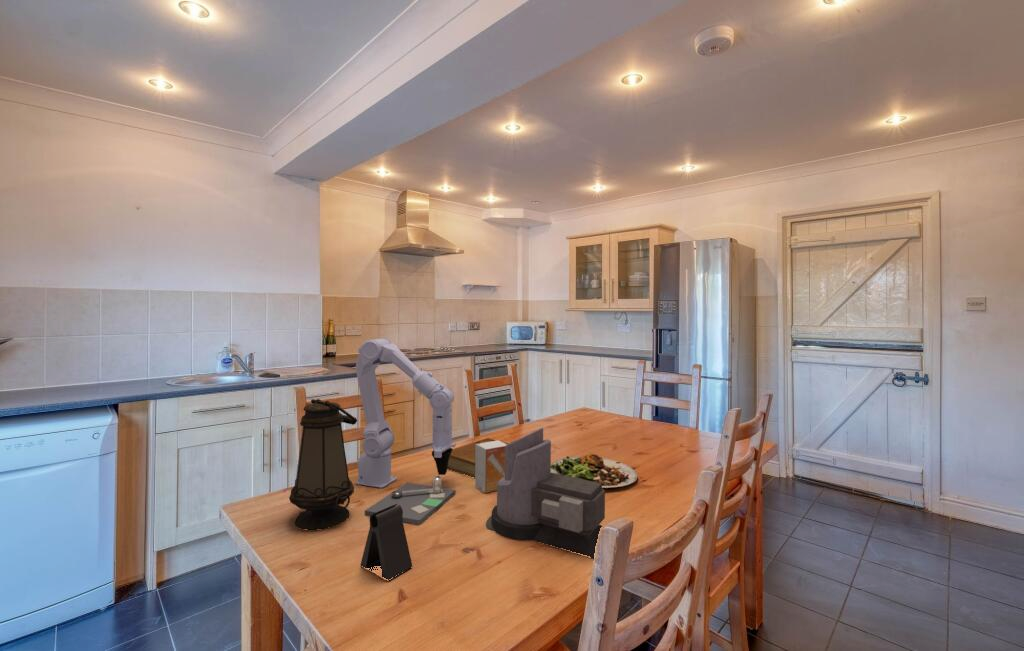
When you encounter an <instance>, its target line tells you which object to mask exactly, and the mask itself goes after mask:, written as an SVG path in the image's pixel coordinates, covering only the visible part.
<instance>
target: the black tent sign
mask: <svg viewBox="0 0 1024 651" xmlns="http://www.w3.org/2000/svg"><path fill="white" fill-rule="evenodd" d="M396 505H397V504H395V505H392V506H390V507H388V508H385V509H383V510H381V511H378V512H376V513H373V514H371V515H370V516H369V529H368V534H367V538H366V541H365V545H364V549H363V554H362V558H361V562H360V567H361V566H363V567H365V568H370V569H371V567H372V569H373V567H374V566H381V567H380V568H381V569H382V577H384V578H386V579H388V580H389V579H391V578H392V577H395V576H396V575H398V574H400V573H402V572H404V571H406V570H407V569H409V568H411V567H412V568H413V563H412V558H411V554H410V549H409V544H408V539H407V535H406V530H405V525H404V522H403V510H402V507H401V506H400V505H398V506H396ZM395 506H396V507H395ZM374 568H375V567H374ZM376 568H377V567H376ZM412 568H411V569H412ZM370 569H369V570H370ZM372 569H371V571H372ZM373 570H374V569H373ZM375 570H376V569H375ZM377 570H378V569H377ZM409 570H410V569H409ZM407 571H408V570H407ZM407 571H406V572H407ZM404 573H405V572H404ZM402 574H403V573H402ZM395 578H396V577H395Z"/></svg>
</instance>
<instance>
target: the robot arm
mask: <svg viewBox="0 0 1024 651" xmlns="http://www.w3.org/2000/svg"><path fill="white" fill-rule="evenodd" d="M392 342H393V341H391V340H390V339H389V338H387V337H380V338H376V339H373V338H372V339H366V340H365V341H363V343H362V344H361V345H360V346H359V347H358V350H357V351H358V357H357V360H356V364H355V372H356V378H357V383H358V389H359V393H360V399H361V404H362V408H363V413H364V419H365V424H366V425H365V427H364V430H363V433H362V434H363V441H362V450H363V452H362V453H361V454H360V456H359V458H358V461H357V481H356V482H355V484H356V485H362V486H367V487H373V488H379V489H382V488H385V487H386V486H388V485H390V484H392V483H393V482H394V481H397V480H398V477H396V476H392V450H391V449H392V446H393V445H394V443H395V437H396V436H395V435H394V433H393V431H392V429H391V427H390V424H389V422H388V421H387V420H385V416H384V411H383V405H382V401H381V396H380V390H379V385H378V380H377V375H376V374H377V373H376V369H377V368H378V367H379V365H380V364H381V362H383V363H384V362H385V363H392V364H394V366H396V367H397V368H398V369H399V370H401V371H402V372H403V373H404V374H405V375H407V376H408V377H409V378H410V379H411V380H412V386H413V387H414V388H415V389H417V391H419V392H420V393H421V394H422V395H423V396H424V397H425V398H427V399H428V400H429V401H428V402H429V405H430V407H431V408H432V443H431V448H432V449H433V450H432V451H431V456H432V458H433V459H434V463H435V466H436V469H437V474H438V476H440V475H441V476H446V474H447V471H448V470H447V467H448V461H449V457H450V454H451V452H452V450H453V449H454V448H455V447H456V445H457V443H456V442H453V411H452V410H453V406H452V404H453V402H454V400H455V395H454V392H453V390H452V389H451V388H450V387H448V386H445V385H444V384H443V383H440V382H439V381H438V380H437V379H436V378H435V377H433V376H434V375H433V373H432V372H431V371H427V370H420V369H419V368H418V367H417V366H416V365H415V364H414V363H413V362H412V361H411V360H410V359H409V358H408V357H407V356H406V354H404V353H403V352H402V351H401V350H400V348H399V347H398V346H397V344H395V343H392Z"/></svg>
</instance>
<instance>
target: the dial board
mask: <svg viewBox="0 0 1024 651" xmlns="http://www.w3.org/2000/svg"><path fill="white" fill-rule="evenodd" d="M431 488H433V485H425V484H420V483H413V482H406V483H404V484H402V486H400V487H398V488H397V489H394V491H396V490H400V491H411V490H421V489H431ZM442 488H443V492H440V493H423V494H414V495H404V496H401V497H399V498H393V497H392V492H390V493H389V494H387V495H386V496H384V497H383V498H381V499H379V501H377V502H376V503H374V504H372V505H371V506H370V507H368V508H366V509H364V516H367V517H368V516H369V517H370V515H371V514H373V513H376V512H378V511H381V510H383V509H385V508H388V507H390V506H392V505H395V504H397V505H396V506H398V505H400V506H401V507H402V510H403V523H405V524H410V525H411V524H412V525H415V526H420V525H421V524H422V522H423V523H424V522H425V521H426V520H427V519H428V518H430V517H431V516H432V515H433V514H434V513H435V512H436V511H438V510H439V509H440V508H441V507H442V506H443V505H445V504H446V503H447V502H448V501H449V500H450V499H451V498H452V497H454V496H455V495H456V489H453V488H446V487H442ZM396 506H395V507H396Z"/></svg>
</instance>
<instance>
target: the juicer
mask: <svg viewBox="0 0 1024 651" xmlns="http://www.w3.org/2000/svg"><path fill="white" fill-rule="evenodd" d="M508 443H509V442H508ZM551 451H552V441H551V440H550V439H548V438H547V439H544V427H540V428H539V429H536V430H534V431H532V432H531V433H528V434H526V435H524V436H522V437H520V438H518V439H516V440H513V441H512V442H510V443H509V444H507V445H506V446H505V477H503V478H501V479H500V480H499V481H498V483H497V490H496V505H495V506H493V508H492V509H491V514H490V515H489V517H488V518H487V520H486V522H485V528H486V529H487V530H489V531H491V532H495V533H496V534H498V535H499V536H501V537H504V538H506V539H509V540H514V541H526V540H528V541H533V542H537V543H539V542H540V544H542V543H544V544H543V545H546V544H548V545H547V546H549V545H552V546H555V547H558V548H557V549H559V548H563V549H566V550H570V551H572V552H576V553H580V554H583V555H587V556H590V557H591V558H590V559H592V560H595V559H594V553H595V546H596V543H597V539H598V534H599V531H600V528H601V527H603V525H602V524H601V523H602V522H603V521H604V520H605V518H606V517H605V516H606V490H605V489H604V488H602V483H598V482H593V481H588V480H584V479H579V478H574V477H569V476H565V475H560V474H555V473H551V464H552V462H551V460H552V459H551V458H552V456H551V455H552V454H551V453H552V452H551ZM552 546H551V547H552ZM555 547H554V548H555Z"/></svg>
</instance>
